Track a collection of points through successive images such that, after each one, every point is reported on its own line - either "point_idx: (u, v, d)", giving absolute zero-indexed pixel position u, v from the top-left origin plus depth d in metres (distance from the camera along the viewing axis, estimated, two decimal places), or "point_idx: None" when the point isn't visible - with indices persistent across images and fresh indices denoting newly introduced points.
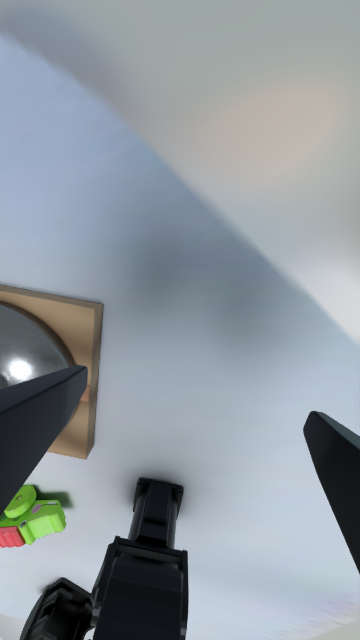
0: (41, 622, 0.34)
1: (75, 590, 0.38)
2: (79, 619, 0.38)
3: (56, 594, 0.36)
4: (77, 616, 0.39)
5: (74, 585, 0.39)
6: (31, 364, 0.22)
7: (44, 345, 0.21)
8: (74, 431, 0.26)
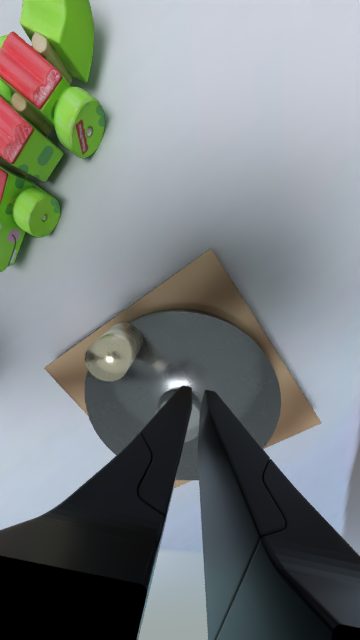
0: None
1: None
2: None
3: None
4: None
5: None
6: None
7: None
8: (82, 391, 0.22)
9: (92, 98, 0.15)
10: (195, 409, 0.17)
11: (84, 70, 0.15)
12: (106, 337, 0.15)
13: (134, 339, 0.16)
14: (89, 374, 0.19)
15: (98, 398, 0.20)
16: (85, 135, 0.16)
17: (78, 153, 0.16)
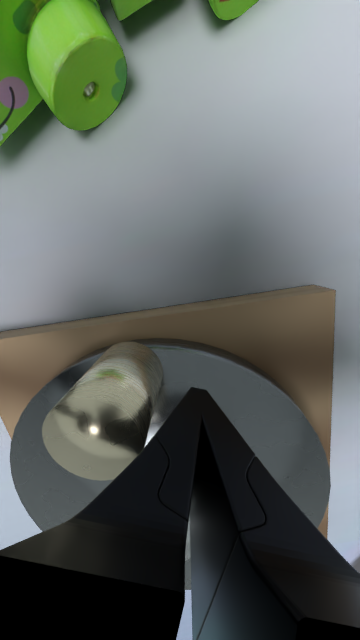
0: None
1: None
2: None
3: None
4: None
5: None
6: None
7: None
8: (17, 402, 0.13)
9: None
10: None
11: None
12: (113, 387, 0.06)
13: (156, 393, 0.08)
14: (41, 396, 0.11)
15: (40, 435, 0.12)
16: None
17: None
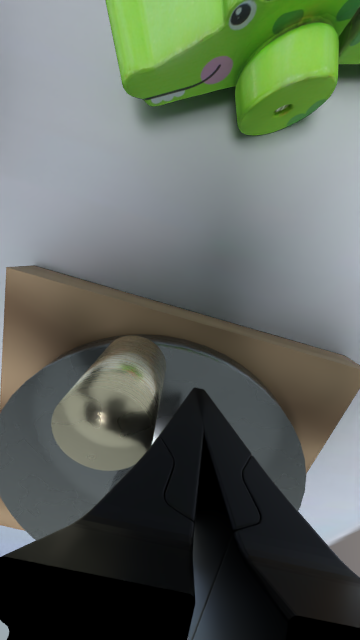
0: None
1: None
2: None
3: None
4: None
5: None
6: None
7: None
8: (31, 348, 0.12)
9: None
10: None
11: None
12: (129, 380, 0.07)
13: (161, 389, 0.08)
14: (35, 380, 0.11)
15: (28, 420, 0.11)
16: None
17: None
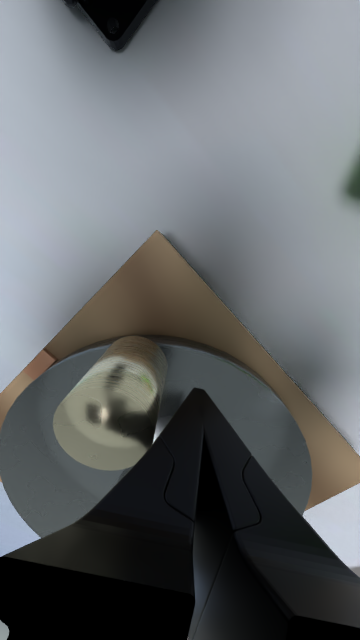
0: None
1: None
2: None
3: None
4: None
5: None
6: None
7: None
8: (121, 312, 0.11)
9: None
10: None
11: None
12: (128, 380, 0.07)
13: (162, 389, 0.08)
14: (39, 382, 0.11)
15: (33, 422, 0.11)
16: None
17: None
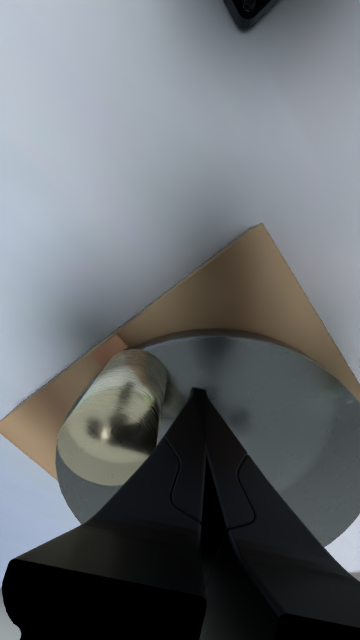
0: None
1: None
2: None
3: None
4: None
5: None
6: None
7: None
8: (206, 303, 0.11)
9: None
10: None
11: None
12: (108, 394, 0.07)
13: (159, 388, 0.08)
14: None
15: None
16: None
17: None
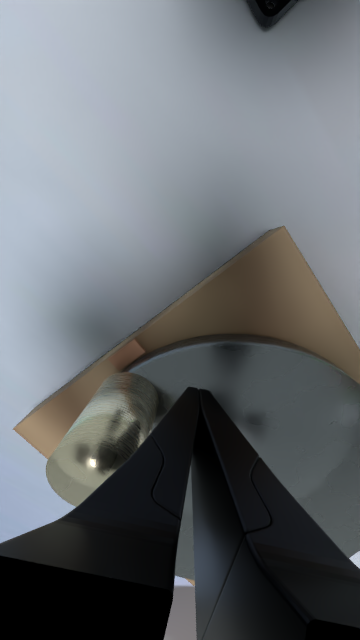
0: None
1: None
2: None
3: None
4: None
5: None
6: None
7: None
8: (225, 308, 0.11)
9: None
10: None
11: None
12: (85, 426, 0.07)
13: (143, 409, 0.09)
14: None
15: None
16: None
17: None
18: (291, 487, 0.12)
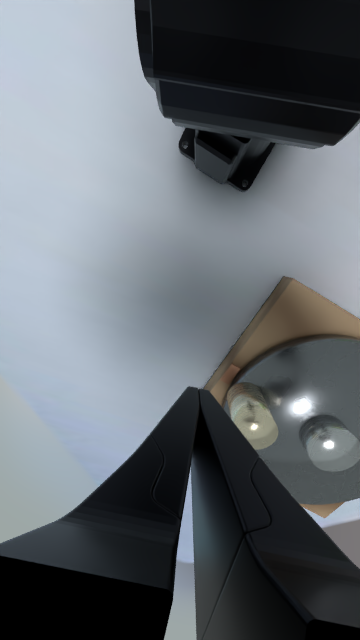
0: None
1: None
2: None
3: None
4: None
5: None
6: (323, 481, 0.21)
7: (334, 499, 0.21)
8: (277, 329, 0.19)
9: None
10: (347, 433, 0.17)
11: None
12: (243, 410, 0.15)
13: (260, 397, 0.17)
14: None
15: None
16: None
17: None
18: (359, 417, 0.19)
